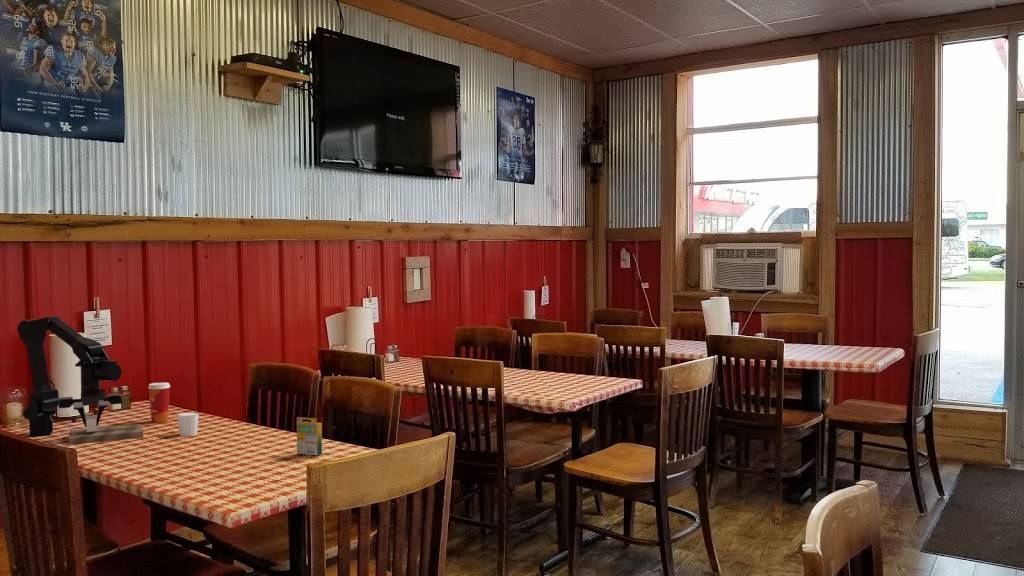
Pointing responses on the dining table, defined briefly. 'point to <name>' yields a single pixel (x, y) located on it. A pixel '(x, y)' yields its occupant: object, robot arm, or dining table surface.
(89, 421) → the fader tab
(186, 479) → the dining table surface
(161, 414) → the paper cup
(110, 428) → the fader console
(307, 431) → the crayon box
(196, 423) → the white tapered cup
